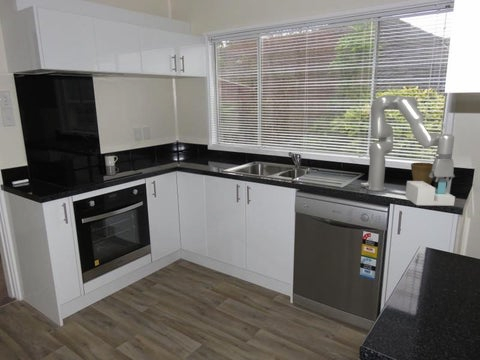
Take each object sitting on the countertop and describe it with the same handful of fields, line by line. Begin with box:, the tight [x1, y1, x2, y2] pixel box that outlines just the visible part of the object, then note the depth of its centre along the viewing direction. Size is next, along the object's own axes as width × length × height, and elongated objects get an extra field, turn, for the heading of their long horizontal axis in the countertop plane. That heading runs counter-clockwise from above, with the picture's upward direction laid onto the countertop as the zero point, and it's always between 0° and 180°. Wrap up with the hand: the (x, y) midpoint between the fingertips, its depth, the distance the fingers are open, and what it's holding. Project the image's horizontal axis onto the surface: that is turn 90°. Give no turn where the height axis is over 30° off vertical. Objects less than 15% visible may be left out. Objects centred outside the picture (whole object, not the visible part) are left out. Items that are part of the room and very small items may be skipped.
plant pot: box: [410, 162, 434, 185], centre depth 226 cm, size 15×15×16 cm
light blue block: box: [435, 177, 447, 194], centre depth 198 cm, size 4×4×11 cm
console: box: [405, 180, 456, 206], centre depth 199 cm, size 20×16×10 cm
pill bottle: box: [445, 178, 453, 194], centre depth 211 cm, size 8×8×15 cm
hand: (440, 187), depth 198 cm, fingers closed on light blue block, 4 cm apart
